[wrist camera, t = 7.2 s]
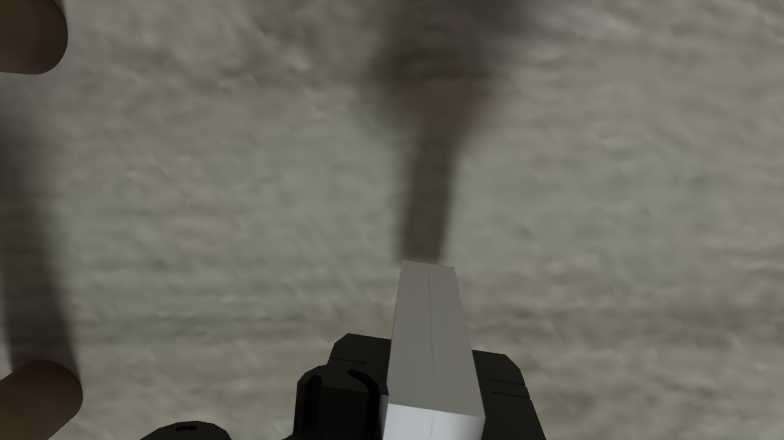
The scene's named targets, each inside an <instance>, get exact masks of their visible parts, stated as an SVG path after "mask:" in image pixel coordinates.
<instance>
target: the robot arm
mask: <svg viewBox="0 0 784 440" xmlns="http://www.w3.org/2000/svg"><path fill="white" fill-rule="evenodd" d="M140 440H232V439H231V438H230V436H229V434H228V433H227V431H225V430H223V429H222V428H220V427H218V426H217V425H215V424H212V423H206V422H201V421H188V422H177V423H174V424H171V425H168V426H165V427H162V428H158V429H157V430H155V431H153V432H152V433H150V434H148V435H147V436H145V437H144V438H142V439H140ZM282 440H546V438H545V435H544V433H543V430H542V427H541V425H540V422H539V419H538V417H537V414H536V411H535V409H534V406H533V403H532V401H531V400H530V395H529V393H528V390H527V387H525V382H524V379H523V377H522V374H521V371H520V369H519V368H518V367H517V366H516V365H515V364H514V363H513V362H512V361H511V360H510V359H509V358H508V357H507V356H506V355H505V354H498V353H491V352H484V351H478V350H471V345H470V340H469V335H468V330H467V325H466V321H465V316H464V311H463V306H462V301H461V296H460V291H459V287H458V282H457V277H456V272H455V267H449V266H442V265H435V264H428V263H421V262H414V261H407V260H402V265H401V273H400V280H399V287H398V294H397V301H396V308H395V315H394V323H393V330H392V337H391V339H384V338H377V337H370V336H363V335H357V334H350V333H348V334H346V335H345V336H344V337H342V338H341V339H340V340H338V341H337V342H336V343H334V346H333V349H332V352H331V354H330V357H329V360H328V362H327V365H322V366H318V367H316V368H314V369H312V370H310V371H308V372H306V373H305V374H304V375H303V376H302V377H301V379H300V380H299V381H298V382H297V394H296V405H295V416H294V428H293V433H292V435H290V436H288V437H287V438H285V439H282Z"/></svg>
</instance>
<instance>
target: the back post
mask: <svg viewBox="0 0 784 440" xmlns="http://www.w3.org/2000/svg"><path fill="white" fill-rule="evenodd" d="M81 405H82V392H81V388H80V386H79V384H78V382H77V380H76V379H75V377H74V376H73V375H72V374H71V373H70V372H69V371H68V370H66V369H65V368H64V367H62V366H60V365H58V364H56V363H53V362H50V361H44V360H37V361H32V362H29V363H27V364H25V365H23V366H22V367H20V368H19V369H17V370H16V371H14V372H13V373H11V374H9V375H8V376H6V377H5V378H3V379H2V380H0V440H48V439H49V438H50V437H51V436H53V435H54V434H55V433H56V432H57V431H58V430H59V429H60V428H62V427H63V426H64V425H65V424H66V423H67V422H68V421H69V420H71V419H72V418H73V417H74V416H75V415H76V414H77V413H78V411H79V410H80V408H81Z"/></svg>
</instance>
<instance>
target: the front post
mask: <svg viewBox="0 0 784 440" xmlns="http://www.w3.org/2000/svg"><path fill="white" fill-rule="evenodd" d="M66 44H67V30H66V25H65V21H64V18H63V16H62V14H61V12H60V10H59V8H58V6H57V5H56V4H55V2H54V1H53V0H0V72H7V73H19V74H33V75H34V74H41V73H45V72H47V71H49V70H51V69H52V68H54V67H55V66H56V65H57V64H58V63H59V62H60V60H61V58H62V57H63V54H64V52H65V49H66Z"/></svg>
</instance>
